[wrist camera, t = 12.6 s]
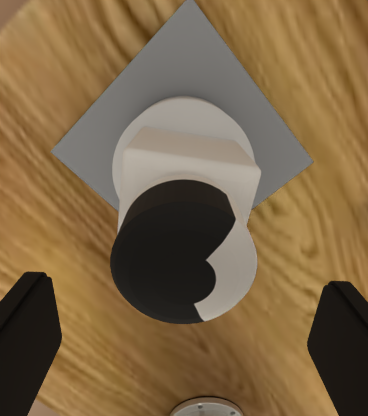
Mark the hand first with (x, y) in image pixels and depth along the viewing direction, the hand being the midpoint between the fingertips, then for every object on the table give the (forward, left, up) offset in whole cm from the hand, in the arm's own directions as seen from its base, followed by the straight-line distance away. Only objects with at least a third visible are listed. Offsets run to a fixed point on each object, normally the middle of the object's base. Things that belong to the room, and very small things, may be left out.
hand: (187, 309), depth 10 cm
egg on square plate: (0, 0, -21) cm, 21 cm away
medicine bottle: (0, 0, -14) cm, 14 cm away
